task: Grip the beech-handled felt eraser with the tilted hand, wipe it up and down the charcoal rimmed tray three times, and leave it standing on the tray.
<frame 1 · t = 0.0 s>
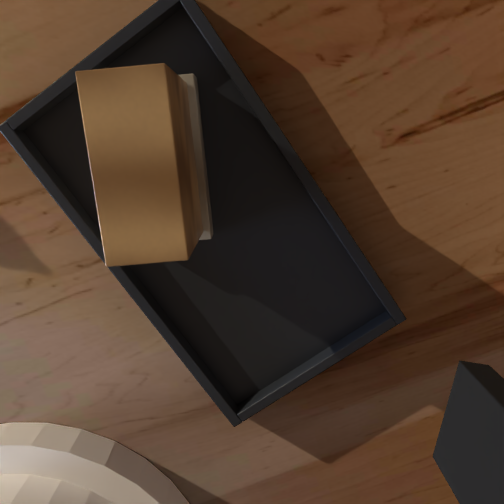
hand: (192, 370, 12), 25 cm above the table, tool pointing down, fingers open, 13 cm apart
eraser: (167, 161, 35), point 1 cm above the table, touching tray
tray: (213, 222, 36), on the table
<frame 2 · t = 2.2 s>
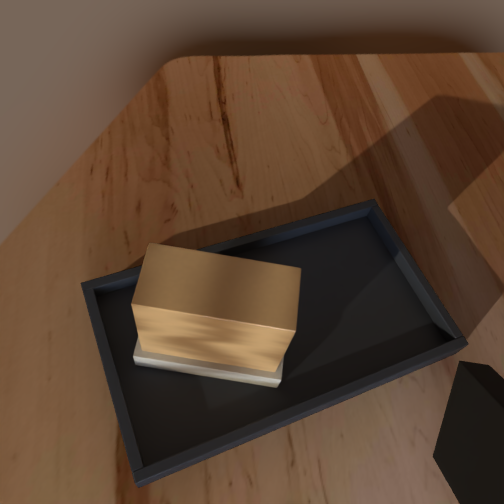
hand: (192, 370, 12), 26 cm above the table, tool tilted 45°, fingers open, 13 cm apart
eraser: (212, 343, 39), point 1 cm above the table, touching tray
tray: (273, 325, 41), on the table
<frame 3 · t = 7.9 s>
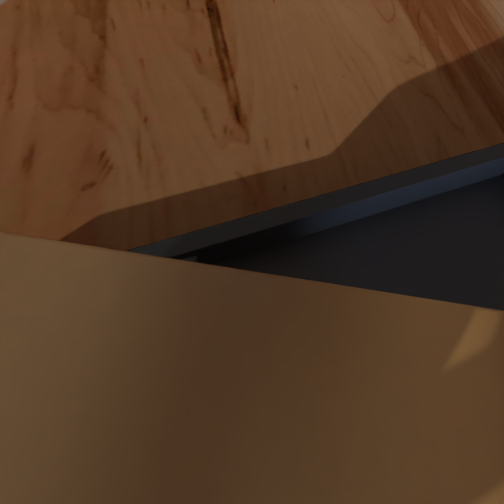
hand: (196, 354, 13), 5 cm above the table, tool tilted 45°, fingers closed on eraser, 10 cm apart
eraser: (177, 492, 15), point 1 cm above the table, touching gripper, tray
tray: (329, 426, 17), on the table
when the fingers open (4 cm above the table, at t = 15.8 s): eraser stays where it is, resting on tray.
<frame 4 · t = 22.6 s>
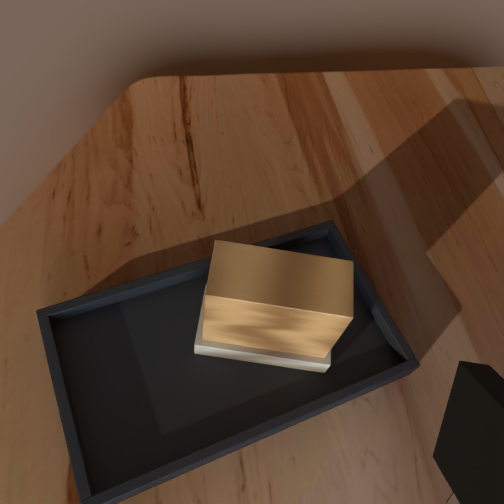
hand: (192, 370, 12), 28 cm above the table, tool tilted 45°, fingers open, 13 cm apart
eraser: (263, 332, 42), point 1 cm above the table, touching tray
tray: (229, 348, 41), on the table
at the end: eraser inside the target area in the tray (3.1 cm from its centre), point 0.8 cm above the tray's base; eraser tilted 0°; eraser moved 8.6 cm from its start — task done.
